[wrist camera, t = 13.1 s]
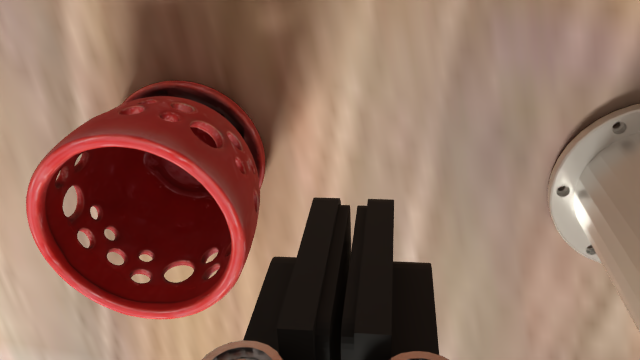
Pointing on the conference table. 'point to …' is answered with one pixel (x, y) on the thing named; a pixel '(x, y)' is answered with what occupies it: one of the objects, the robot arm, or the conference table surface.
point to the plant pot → (153, 199)
